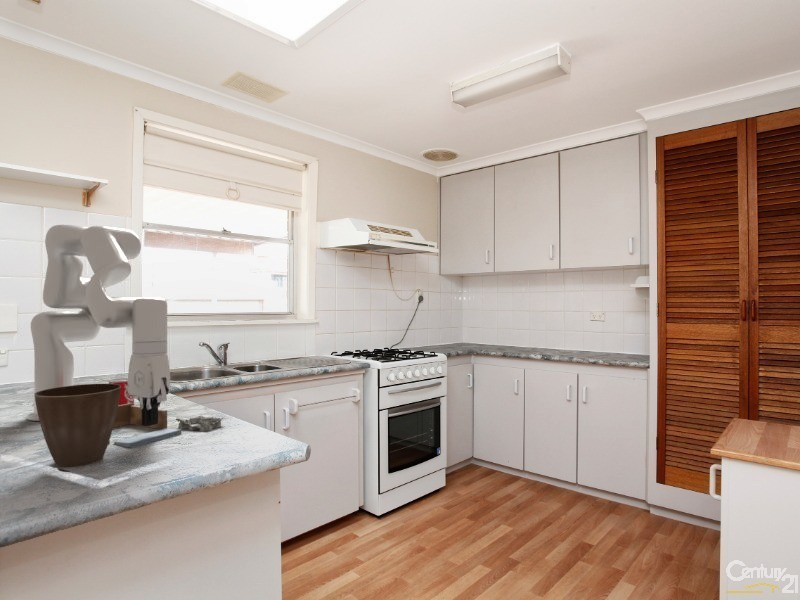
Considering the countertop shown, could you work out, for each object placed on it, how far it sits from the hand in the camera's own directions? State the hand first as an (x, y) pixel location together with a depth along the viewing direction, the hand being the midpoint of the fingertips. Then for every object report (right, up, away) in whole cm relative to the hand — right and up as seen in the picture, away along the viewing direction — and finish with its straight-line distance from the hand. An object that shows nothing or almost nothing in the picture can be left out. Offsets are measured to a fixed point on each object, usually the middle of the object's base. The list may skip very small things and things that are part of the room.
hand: (149, 424), depth 114 cm
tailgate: (-3, -3, +2) cm, 5 cm away
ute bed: (-11, -5, +5) cm, 13 cm away
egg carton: (+7, -5, +11) cm, 15 cm away
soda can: (-20, -5, +21) cm, 30 cm away
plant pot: (-6, -5, -16) cm, 18 cm away
